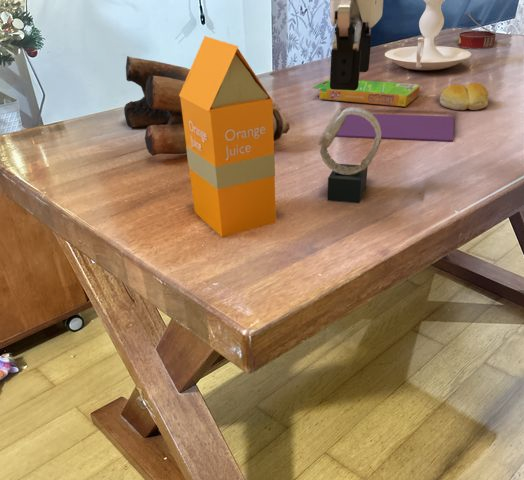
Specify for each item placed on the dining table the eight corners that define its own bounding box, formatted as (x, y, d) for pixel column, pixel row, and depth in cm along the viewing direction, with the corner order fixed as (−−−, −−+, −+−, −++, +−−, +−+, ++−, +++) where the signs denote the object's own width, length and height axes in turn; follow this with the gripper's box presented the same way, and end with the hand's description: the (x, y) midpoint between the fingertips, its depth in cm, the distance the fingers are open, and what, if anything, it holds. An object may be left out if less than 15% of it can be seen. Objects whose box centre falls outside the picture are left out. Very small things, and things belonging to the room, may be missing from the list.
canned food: (465, 60, 162) (477, 24, 159) (495, 60, 155) (509, 22, 152) (445, 44, 154) (458, 6, 152) (476, 44, 147) (490, 4, 145)
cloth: (453, 118, 100) (453, 116, 100) (453, 141, 90) (453, 139, 89) (345, 114, 105) (345, 113, 105) (333, 136, 94) (333, 134, 94)
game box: (404, 111, 107) (310, 98, 115) (417, 100, 114) (328, 88, 121) (407, 95, 105) (311, 82, 113) (420, 84, 112) (329, 73, 119)
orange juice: (245, 199, 74) (235, 32, 62) (277, 222, 68) (272, 41, 56) (192, 212, 71) (171, 40, 59) (220, 237, 65) (202, 51, 53)
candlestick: (370, 78, 128) (381, -71, 111) (393, 58, 146) (406, -74, 128) (460, 83, 121) (487, -76, 104) (473, 61, 139) (498, -78, 121)
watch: (322, 184, 77) (324, 102, 71) (378, 188, 75) (386, 104, 68) (312, 199, 73) (314, 114, 66) (372, 204, 71) (380, 116, 64)
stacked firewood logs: (148, 67, 75) (309, 71, 84) (114, 54, 100) (242, 58, 108) (153, 162, 82) (302, 157, 90) (121, 128, 106) (241, 126, 115)
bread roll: (437, 100, 110) (440, 79, 108) (483, 100, 109) (488, 78, 106) (440, 111, 104) (444, 88, 101) (489, 111, 102) (494, 88, 100)
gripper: (392, -111, 47) (373, 98, 58) (406, -104, 60) (388, 66, 71) (308, -107, 49) (304, 96, 60) (339, -101, 62) (331, 64, 73)
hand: (350, 79), depth 65 cm, fingers open, 9 cm apart
